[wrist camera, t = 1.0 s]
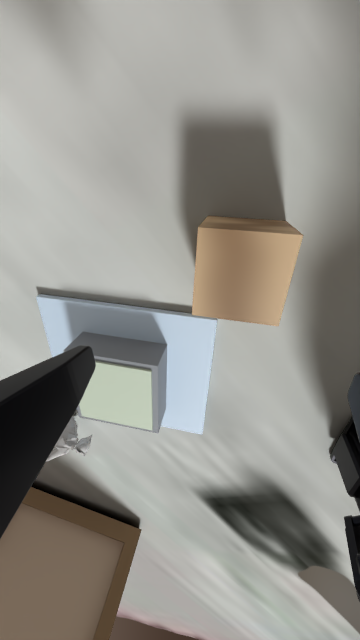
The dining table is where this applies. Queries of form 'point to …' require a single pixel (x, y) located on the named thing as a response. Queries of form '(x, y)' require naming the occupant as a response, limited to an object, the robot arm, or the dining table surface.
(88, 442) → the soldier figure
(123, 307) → the board
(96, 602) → the photo frame
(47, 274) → the dining table surface
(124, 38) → the dining table surface
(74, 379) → the robot arm
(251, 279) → the oak cube
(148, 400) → the base block
